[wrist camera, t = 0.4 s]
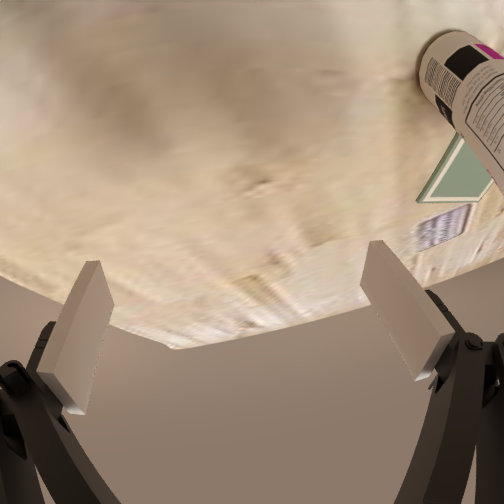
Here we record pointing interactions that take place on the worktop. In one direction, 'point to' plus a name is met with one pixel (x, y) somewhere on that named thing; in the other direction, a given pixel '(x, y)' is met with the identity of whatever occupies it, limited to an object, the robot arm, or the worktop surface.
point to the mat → (457, 177)
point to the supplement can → (469, 94)
